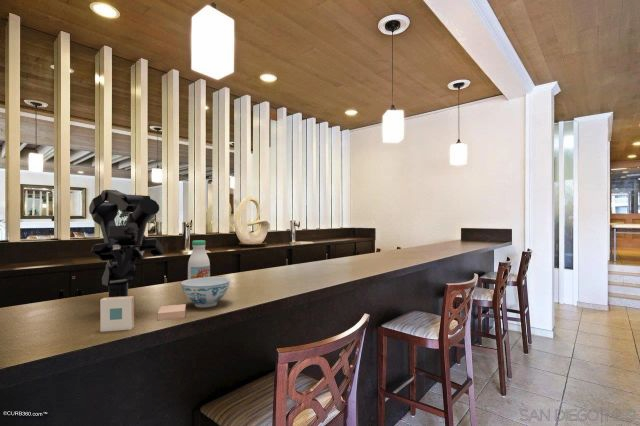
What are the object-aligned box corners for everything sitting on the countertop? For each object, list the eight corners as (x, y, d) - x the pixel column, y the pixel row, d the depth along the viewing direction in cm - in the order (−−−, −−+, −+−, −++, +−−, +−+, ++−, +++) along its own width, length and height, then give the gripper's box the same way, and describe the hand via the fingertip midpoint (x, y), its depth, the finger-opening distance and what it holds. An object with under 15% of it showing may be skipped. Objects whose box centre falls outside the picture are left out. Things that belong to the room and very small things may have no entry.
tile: (104, 328, 88) (104, 297, 88) (133, 326, 89) (133, 296, 90) (100, 331, 85) (100, 299, 86) (131, 329, 87) (131, 298, 87)
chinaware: (239, 302, 114) (239, 279, 114) (203, 313, 101) (203, 287, 101) (208, 297, 121) (208, 275, 122) (171, 307, 109) (171, 282, 109)
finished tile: (160, 314, 102) (160, 306, 102) (185, 311, 104) (185, 304, 105) (157, 321, 95) (157, 313, 95) (184, 319, 97) (184, 310, 97)
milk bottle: (183, 296, 123) (183, 241, 123) (196, 292, 130) (195, 239, 130) (202, 297, 121) (202, 241, 121) (214, 293, 128) (213, 239, 129)
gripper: (89, 217, 99) (69, 264, 90) (153, 211, 99) (140, 257, 90) (109, 238, 108) (94, 283, 98) (168, 232, 108) (158, 276, 99)
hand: (121, 275), depth 96 cm, fingers closed
